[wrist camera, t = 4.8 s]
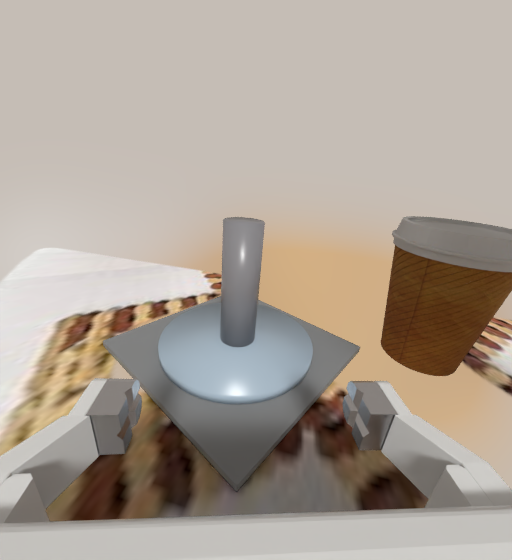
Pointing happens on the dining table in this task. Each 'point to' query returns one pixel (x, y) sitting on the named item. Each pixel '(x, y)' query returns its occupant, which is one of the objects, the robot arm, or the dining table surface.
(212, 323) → the lid
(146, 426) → the dining table surface
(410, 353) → the disposable coffee cup
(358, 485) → the dining table surface
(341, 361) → the mat
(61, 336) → the dining table surface
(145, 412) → the dining table surface
